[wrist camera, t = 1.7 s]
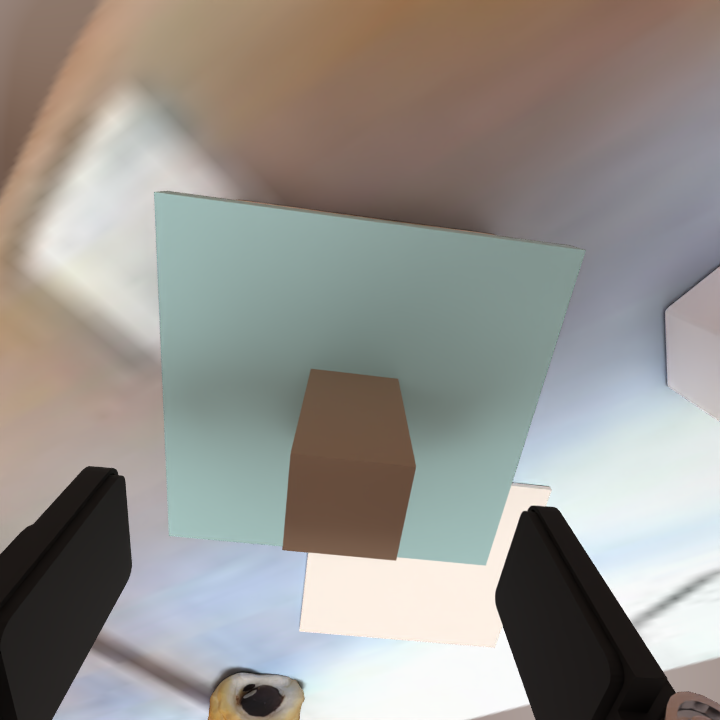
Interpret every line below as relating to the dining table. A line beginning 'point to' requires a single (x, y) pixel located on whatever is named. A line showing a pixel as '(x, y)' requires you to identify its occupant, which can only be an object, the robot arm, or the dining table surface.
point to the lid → (348, 376)
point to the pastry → (256, 698)
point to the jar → (696, 345)
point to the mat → (414, 590)
